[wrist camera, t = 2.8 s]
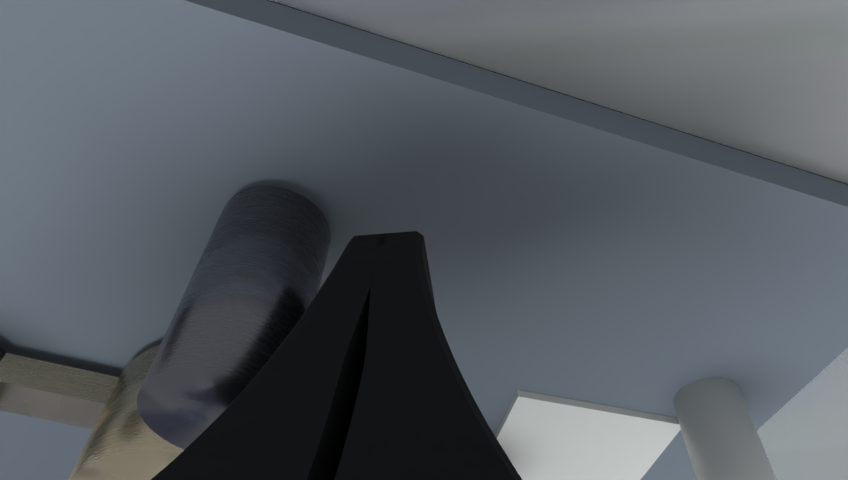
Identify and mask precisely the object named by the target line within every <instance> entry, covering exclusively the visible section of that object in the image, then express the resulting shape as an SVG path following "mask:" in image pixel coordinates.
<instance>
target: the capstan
mask: <svg viewBox="0 0 848 480" xmlns="http://www.w3.org/2000/svg"><path fill="white" fill-rule="evenodd" d="M330 241H331V232H330V227H329V224H328V222H327V220H326V218H325V216H324V215H323V213H322V212H321V211H320V209H319V208H318V207H317V206H316V205H315V204H314V203H313V202H311V201H310V200H309V199H307V198H306V197H304V196H302V195H300V194H298V193H296V192H294V191H291V190H288V189H285V188H281V187H274V186H258V187H252V188H248V189H245V190H243V191H241V192H239V193H237V194H236V195H234V196H233V197H232V198H231V199H230V200H229V201H228V202H227V203H226V205H225V206H224V208H223V210H222V212H221V215H220V217H219V219H218V221H217V223H216V225H215V228H214V230H213V232H212V234H211V236H210V238H209V241H208V243H207V245H206V247H205V249H204V251H203V254H202V256H201V258H200V260H199V262H198V264H197V267H196V269H195V271H194V273H193V275H192V277H191V280H190V282H189V284H188V286H187V288H186V290H185V293H184V295H183V297H182V299H181V301H180V303H179V306H178V308H177V310H176V312H175V314H174V316H173V319H172V321H171V323H170V325H169V327H168V329H167V332H166V334H165V336H164V338H163V340H162V342H161V345H157V346H155V347H153V348H150V349H148V350H146V351H144V352H142V353H141V354H139V355H138V356H136V357H135V358H134V359H133V360H132V361H131V362H129V363H128V364H127V365H126V367H125V368H124V370H123V371H122V373H121V374H120V376H119V377H116V376H111V375H107V374H102V373H97V372H93V371H88V370H84V369H79V368H74V367H70V366H65V365H61V364H56V363H51V362H47V361H42V360H38V359H33V358H28V357H24V356H19V355H15V354H10V353H6V352H5V351H4V350H3V349H2V348H1V347H0V410H1V411H6V412H11V413H16V414H20V415H25V416H30V417H35V418H40V419H45V420H50V421H55V422H60V423H65V424H70V425H74V426H79V427H84V428H89V429H93V430H92V432H91V434H90V436H89V438H88V440H87V442H86V444H85V446H84V448H83V450H82V452H81V454H80V456H79V458H78V460H77V462H76V464H75V466H74V468H73V470H72V472H71V474H70V476H69V478H68V480H151V479H152V478H153V477H154V476H156V475H157V474H158V473H159V472H160V471H161V470H163V469H164V468H165V467H166V466H167V465H169V464H170V463H171V462H172V461H173V460H174V459H175V458H176V457H177V456H179V455H180V454H181V453H182V452H183V451H184V450H185V449H186V448H187V447H188V446H189V445H190V444H191V443H192V442H193V441H194V440H195V439H196V438H197V437H198V436H200V435H201V434H202V433H203V432H204V431H205V430H206V429H207V428H208V427H209V426H210V425H211V424H212V423H213V422H214V421H215V420H216V419H217V418H218V417H219V416H220V415H221V414H222V413H223V412H224V410H225V409H226V408H227V407H228V406H229V405H230V404H231V403H232V402H233V401H234V400H235V399H236V397H237V396H238V395H239V394H240V393H241V392H242V391H243V390H244V389H245V388H246V386H247V385H248V384H249V383H250V382H251V381H252V379H253V378H254V377H255V376H256V375H257V374H258V372H259V371H260V370H261V369H262V368H263V366H264V365H265V364H266V363H267V361H268V360H269V359H270V358H271V356H272V355H273V354H274V352H275V351H276V350H277V348H278V347H279V346H280V345H281V343H282V342H283V341H284V339H285V338H286V337H287V335H288V334H289V333H290V332H291V330H292V329H293V328H294V326H295V325H296V323H297V322H298V321H299V319H300V318H301V316H302V315H303V313H304V312H305V310H306V309H307V307H308V306H309V304H310V303H311V302H312V300H313V299H314V297H315V296H316V294H317V293H318V291H319V289H320V284H321V280H322V276H323V272H324V267H325V263H326V259H327V255H328V250H329V246H330Z"/></svg>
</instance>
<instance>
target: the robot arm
mask: <svg viewBox="0 0 848 480" xmlns="http://www.w3.org/2000/svg"><path fill="white" fill-rule="evenodd" d="M151 480H522V478H521V477H520V475H519V474H518V472H517V471H516V469H515V468H514V466H513V464H512V463H511V461H510V460H509V458H508V456H507V455H506V453H505V451H504V450H503V448H502V447H501V445H500V443H499V442H498V440H497V439H496V437H495V435H494V434H493V432H492V431H491V429H490V427H489V425H488V424H487V422H486V420H485V418H484V416H483V415H482V413H481V411H480V409H479V407H478V406H477V404H476V402H475V400H474V398H473V396H472V394H471V392H470V390H469V388H468V386H467V384H466V382H465V380H464V378H463V376H462V374H461V372H460V370H459V368H458V365H457V363H456V361H455V359H454V357H453V354H452V352H451V349H450V347H449V345H448V342H447V340H446V337H445V335H444V332H443V330H442V327H441V324H440V322H439V319H438V316H437V312H436V307H435V301H434V295H433V289H432V283H431V277H430V271H429V265H428V259H427V253H426V247H425V241H424V236H423V235H422V234H420V233H419V232H417V231H410V232H397V233H384V234H371V235H358V236H354V237H353V238H352V239H351V240H350V241H349V243H348V244H347V246H346V248H345V249H344V251H343V253H342V254H341V256H340V258H339V259H338V261H337V263H336V264H335V266H334V268H333V269H332V271H331V272H330V274H329V276H328V277H327V279H326V280H325V282H324V283H323V285H322V287H321V288H320V290H319V291H318V293H317V294H316V296H315V297H314V299H313V300H312V302H311V303H310V304H309V306H308V307H307V309H306V310H305V312H304V313H303V315H302V316H301V318H300V319H299V321H298V322H297V323H296V325H295V326H294V328H293V329H292V330H291V332H290V333H289V334H288V335H287V337H286V338H285V339H284V341H283V342H282V343H281V345H280V346H279V347H278V348H277V350H276V351H275V352H274V354H273V355H272V356H271V358H270V359H269V360H268V361H267V363H266V364H265V365H264V366H263V368H262V369H261V370H260V371H259V372H258V374H257V375H256V376H255V377H254V378H253V379H252V381H251V382H250V383H249V384H248V385H247V386H246V388H245V389H244V390H243V391H242V392H241V393H240V394H239V395H238V396H237V397H236V399H235V400H234V401H233V402H232V403H231V404H230V405H229V406H228V407H227V408H226V409H225V410H224V412H223V413H222V414H221V415H220V416H219V417H218V418H217V419H216V420H215V421H214V422H213V423H212V424H211V425H210V426H209V427H208V428H207V429H206V430H205V431H204V432H203V433H202V434H201V435H200V436H198V437H197V438H196V439H195V440H194V441H193V442H192V443H191V444H190V445H189V446H188V447H187V448H186V449H185V450H184V451H183V452H182V453H181V454H180V455H179V456H177V457H176V458H175V459H174V460H173V461H172V462H171V463H170V464H169V465H167V466H166V467H165V468H164V469H163V470H161V471H160V472H159V473H158V474H157V475H156V476H154V477H153V478H152V479H151Z"/></svg>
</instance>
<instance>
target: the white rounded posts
mask: <svg viewBox="0 0 848 480" xmlns="http://www.w3.org/2000/svg"><path fill="white" fill-rule="evenodd" d="M673 404H674V408H675V411H676V414H677V418H675V417H669V416H664V415H658V414H652V413H647V412H641V411H635V410H629V409H624V408H618V407H612V406H606V405H601V404H595V403H589V402H584V401H578V400H572V399H566V398H561V397H555V396H549V395H543V394H538V393H532V392H526V391H521V390H517V392H516V394H515V396H514V398H513V400H512V402H511V404H510V406H509V408H508V410H507V412H506V414H505V416H504V418H503V420H502V422H501V424H500V426H499V428H498V430H497V432H496V434H495V437H496V439H497V440H498V442H499V443H500V445H501V447H502V448H503V450H504V451H505V453H506V455H507V456H508V458H509V460H510V461H511V463H512V464H513V466H514V468H515V469H516V471H517V472H518V474H519V475H520V477H521V478H522V480H641V478H642V477H643V476H644V475H645V473H646V472H647V471H648V470H649V468H650V467H651V466H652V465H653V463H654V462H655V461H656V460H657V458H658V457H659V456H660V455H661V453H662V452H663V451H664V450H665V448H666V447H667V446H668V445H669V443H670V442H671V441H672V440H673V438H674V437H675V436H676V435H677V433H678V432H679V431H680V430H681V431H682V434H683V437H684V441H685V444H686V447H687V450H688V454H689V457H690V460H691V463H692V467H693V470H694V473H695V476H696V480H777V479H776V477H775V474H774V472H773V470H772V467H771V465H770V462H769V460H768V457H767V455H766V452H765V450H764V448H763V445H762V443H761V440H760V438H759V435H758V433H757V430H756V428H755V426H754V423H753V421H752V418H751V416H750V413H749V411H748V408H747V406H746V404H745V401H744V399H743V396H742V394H741V391H740V389H739V387H738V386H737V385H736V384H734V383H733V382H731V381H728V380H725V379H719V378H709V379H702V380H698V381H695V382H692V383H690V384H688V385H686V386H685V387H683V388H682V389H681V390H679V391H678V393H677V394H676V395H675V397H674V401H673Z"/></svg>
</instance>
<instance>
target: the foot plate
mask: <svg viewBox="0 0 848 480" xmlns="http://www.w3.org/2000/svg"><path fill="white" fill-rule="evenodd" d="M258 186H274V187H281V188H285V189H288V190H291V191H294V192H296V193H298V194H300V195H302V196H304V197H306V198H307V199H309V200H310V201H311V202H313V203H314V204H315V205H316V206H317V207H318V208H319V209H320V211H321V212H322V213H323V215H324V216H325V218H326V220H327V222H328V224H329V227H330V232H331V241H330V246H329V250H328V255H327V259H326V263H325V267H324V272H323V276H322V280H321V284H320V288H321V287H322V285H323V283H324V282H325V280H326V279H327V277H328V276H329V274H330V272H331V271H332V269H333V268H334V266H335V264H336V263H337V261H338V259H339V258H340V256H341V254H342V253H343V251H344V249H345V248H346V246H347V244H348V243H349V241H350V240H351V239H352V238H353V237H354V236H358V235H371V234H384V233H397V232H410V231H417V232H419V233H420V234H422V235H423V236H424V241H425V247H426V253H427V259H428V265H429V271H430V277H431V283H432V289H433V295H434V301H435V307H436V312H437V316H438V319H439V322H440V324H441V327H442V330H443V332H444V335H445V337H446V340H447V342H448V345H449V347H450V349H451V352H452V354H453V357H454V359H455V361H456V363H457V365H458V368H459V370H460V372H461V374H462V376H463V378H464V380H465V382H466V384H467V386H468V388H469V390H470V392H471V394H472V396H473V398H474V400H475V402H476V404H477V406H478V407H479V409H480V411H481V413H482V415H483V416H484V418H485V420H486V422H487V424H488V425H489V427H490V429H491V431H492V432H493V434H494V435H495V434H496V432H497V430H498V428H499V426H500V424H501V422H502V420H503V418H504V416H505V414H506V412H507V410H508V408H509V406H510V404H511V402H512V400H513V398H514V396H515V394H516V392H517V390H521V391H526V392H532V393H538V394H543V395H549V396H555V397H561V398H566V399H572V400H578V401H584V402H589V403H595V404H601V405H606V406H612V407H618V408H624V409H629V410H635V411H641V412H647V413H652V414H658V415H664V416H669V417H675V418H677V414H676V411H675V408H674V404H673V401H674V397H675V395H676V394H677V393H678V391H679V390H681V389H682V388H683V387H685V386H686V385H688V384H690V383H692V382H695V381H698V380H702V379H709V378H719V379H725V380H728V381H731V382H733V383H734V384H736V385H737V386H738V387H739V389H740V391H741V394H742V396H743V399H744V401H745V404H746V406H747V408H748V411H749V413H750V416H751V418H752V421H753V423H754V426H755V428H756V430H757V429H759V428H760V427H761V426H762V425H763V424H764V423H765V422H766V421H767V420H768V419H770V418H771V417H772V416H773V415H774V414H775V413H776V412H777V411H778V410H779V409H780V408H782V407H783V406H784V405H785V404H786V403H787V402H788V401H789V400H790V399H791V398H793V397H794V396H795V395H796V394H797V393H798V392H799V391H800V390H801V389H802V388H803V387H805V386H806V385H807V384H808V383H809V382H810V381H811V380H812V379H813V378H814V377H816V376H817V375H818V374H819V373H820V372H821V371H822V370H823V369H824V368H825V367H826V366H828V365H829V364H830V363H831V362H832V361H833V360H834V359H835V358H836V357H837V356H839V355H840V354H841V353H842V352H843V351H844V350H845V349H846V348H847V347H848V185H846V184H843V183H840V182H837V181H834V180H831V179H828V178H824V177H821V176H818V175H815V174H812V173H809V172H806V171H802V170H799V169H796V168H793V167H790V166H787V165H784V164H780V163H777V162H774V161H771V160H768V159H765V158H761V157H758V156H755V155H752V154H749V153H746V152H743V151H739V150H736V149H733V148H730V147H727V146H724V145H721V144H717V143H714V142H711V141H708V140H705V139H702V138H699V137H695V136H692V135H689V134H686V133H683V132H680V131H677V130H673V129H670V128H667V127H664V126H661V125H658V124H655V123H651V122H648V121H645V120H642V119H639V118H636V117H633V116H629V115H626V114H623V113H620V112H617V111H614V110H611V109H607V108H604V107H601V106H598V105H595V104H592V103H589V102H585V101H582V100H579V99H576V98H573V97H570V96H566V95H563V94H560V93H557V92H554V91H551V90H548V89H544V88H541V87H538V86H535V85H532V84H529V83H526V82H522V81H519V80H516V79H513V78H510V77H507V76H504V75H500V74H497V73H494V72H491V71H488V70H485V69H482V68H478V67H475V66H472V65H469V64H466V63H463V62H460V61H456V60H453V59H450V58H447V57H444V56H441V55H438V54H434V53H431V52H428V51H425V50H422V49H419V48H416V47H412V46H409V45H406V44H403V43H400V42H397V41H393V40H390V39H387V38H384V37H381V36H378V35H375V34H371V33H368V32H365V31H362V30H359V29H356V28H353V27H349V26H346V25H343V24H340V23H337V22H334V21H331V20H327V19H324V18H321V17H318V16H315V15H312V14H309V13H305V12H302V11H299V10H296V9H293V8H290V7H287V6H283V5H280V4H277V3H274V2H271V1H268V0H0V347H1V348H2V349H3V350H4V351H5V352H6V353H10V354H15V355H19V356H24V357H28V358H33V359H38V360H42V361H47V362H51V363H56V364H61V365H65V366H70V367H74V368H79V369H84V370H88V371H93V372H97V373H102V374H107V375H111V376H116V377H119V376H120V374H121V373H122V371H123V370H124V368H125V367H126V365H127V364H128V363H129V362H131V361H132V360H133V359H134V358H135V357H136V356H138V355H139V354H141V353H142V352H144V351H146V350H148V349H150V348H153V347H155V346H157V345H161V342H162V340H163V338H164V336H165V334H166V332H167V329H168V327H169V325H170V323H171V321H172V319H173V316H174V314H175V312H176V310H177V308H178V306H179V303H180V301H181V299H182V297H183V295H184V293H185V290H186V288H187V286H188V284H189V282H190V280H191V277H192V275H193V273H194V271H195V269H196V267H197V264H198V262H199V260H200V258H201V256H202V254H203V251H204V249H205V247H206V245H207V243H208V241H209V238H210V236H211V234H212V232H213V230H214V228H215V225H216V223H217V221H218V219H219V217H220V215H221V212H222V210H223V208H224V206H225V205H226V203H227V202H228V201H229V200H230V199H231V198H232V197H233V196H234V195H236V194H237V193H239V192H241V191H243V190H245V189H248V188H252V187H258ZM319 290H320V289H319ZM92 430H93V429H89V428H84V427H79V426H74V425H70V424H65V423H60V422H55V421H50V420H45V419H40V418H35V417H30V416H25V415H20V414H16V413H11V412H6V411H1V410H0V480H68V478H69V476H70V474H71V472H72V470H73V468H74V466H75V464H76V462H77V460H78V458H79V456H80V454H81V452H82V450H83V448H84V446H85V444H86V442H87V440H88V438H89V436H90V434H91V432H92ZM641 480H696V476H695V473H694V470H693V467H692V463H691V460H690V457H689V454H688V450H687V447H686V444H685V441H684V437H683V434H682V431H681V430H680V431H679V432H678V433H677V435H676V436H675V437H674V438H673V440H672V441H671V442H670V443H669V445H668V446H667V447H666V448H665V450H664V451H663V452H662V453H661V455H660V456H659V457H658V458H657V460H656V461H655V462H654V463H653V465H652V466H651V467H650V468H649V470H648V471H647V472H646V473H645V475H644V476H643V477H642V478H641Z"/></svg>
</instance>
